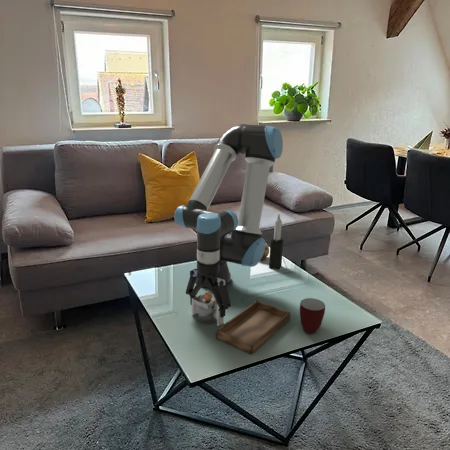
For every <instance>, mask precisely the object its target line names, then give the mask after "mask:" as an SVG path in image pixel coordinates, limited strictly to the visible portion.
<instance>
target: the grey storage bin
mask: <svg viewBox="0 0 450 450" xmlns="http://www.w3.org/2000/svg"><path fill="white" fill-rule="evenodd" d="M206 292H209V293H210V290H206V291H205V292H202V293H201V294H200V295H197V296H198V297H196V298H195V299H193V303H194V304H196V305H198V313H197V317H198V318H197V319H198V320H197V321H198V322H199V323H200V324H201V325H212V324H215V323H217V309H218V304H217V301H216V299H215V297H214V294H213V293H211V294H212V299H211V300H210V301H205V300H204V298H203V296H204V294H205V293H206Z"/></svg>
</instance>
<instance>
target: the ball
mask: <svg viewBox="0 0 450 450" xmlns="http://www.w3.org/2000/svg"><path fill="white" fill-rule="evenodd" d="M205 292H206V291H205ZM212 294H213V293H211V292H210V291H209V292H206V293H205V294H204V296H203V298H204V300H205V301H210V300H211V299H212Z"/></svg>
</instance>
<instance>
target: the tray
mask: <svg viewBox="0 0 450 450" xmlns="http://www.w3.org/2000/svg"><path fill="white" fill-rule="evenodd" d="M290 318H291V312H289V311H286V310H285V309H282V308H279V307H276V306H273V305H270V304H268V303H265V302H262V301H260V300H255V301H253V303H251V304H249V305H248V306H247V307H246V308H244V309H243V310H242V311H240V312H239V313H238V314H236V315H235V316H234V317H232V318H231V319H229V320H228V321H227V322H225V323H223V324H222V325H220V326H219V328H217V329H216V330H215V340H218V341H221V342H223V343H225V344H227V345H230V346H232V347H234V348H235V349H238V350H240V351H243V352H245V353H247V354H249V355H252V356H253V354H254V353H255V352H257V350H258V349H259V348H261V347H262V346H263V345H264V344H265V343H266V342H267V341H268V340H269V339H271V338H272V337H273V336H274V335H275V334H276V333H277V332H278V331H279V330H280V329H281V328H283V327H284V326H285V325H286V324H287V323H288V322H289V321H290Z"/></svg>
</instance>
